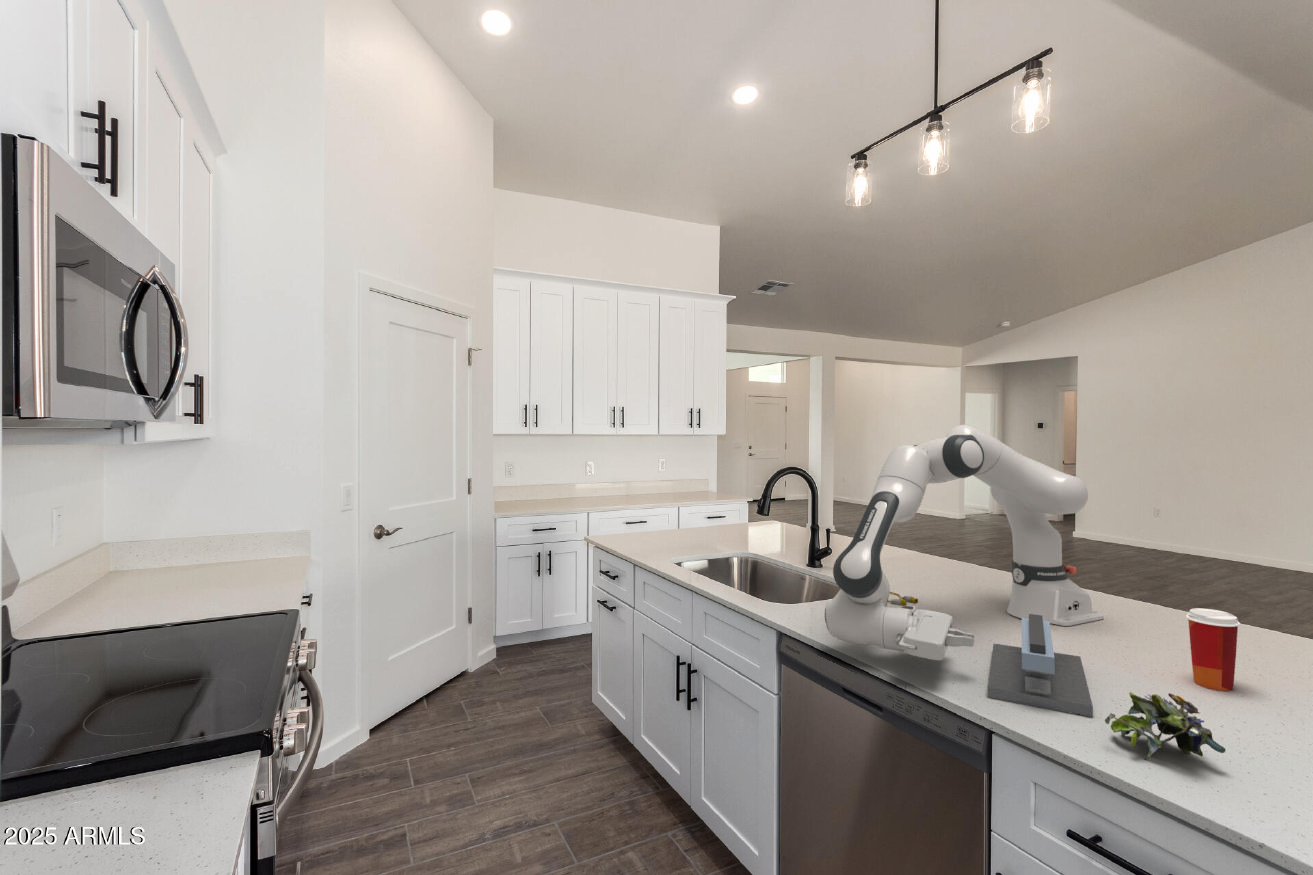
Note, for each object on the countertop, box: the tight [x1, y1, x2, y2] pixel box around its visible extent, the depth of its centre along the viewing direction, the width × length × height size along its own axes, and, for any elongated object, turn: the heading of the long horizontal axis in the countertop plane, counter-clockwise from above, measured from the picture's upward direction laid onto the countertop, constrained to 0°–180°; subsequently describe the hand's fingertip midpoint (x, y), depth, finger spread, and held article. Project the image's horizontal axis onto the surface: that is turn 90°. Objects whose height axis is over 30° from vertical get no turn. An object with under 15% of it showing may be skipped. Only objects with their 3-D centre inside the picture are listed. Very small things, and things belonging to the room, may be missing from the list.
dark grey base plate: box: [987, 643, 1094, 718], centre depth 118 cm, size 26×16×3 cm, turn 148°
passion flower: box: [1104, 691, 1226, 761], centre depth 91 cm, size 11×11×12 cm
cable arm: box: [1021, 614, 1055, 674], centre depth 118 cm, size 25×5×8 cm, turn 148°
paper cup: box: [1185, 607, 1241, 692], centre depth 115 cm, size 8×8×14 cm
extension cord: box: [887, 591, 919, 606], centre depth 177 cm, size 12×16×2 cm
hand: (973, 640), depth 120 cm, fingers closed
